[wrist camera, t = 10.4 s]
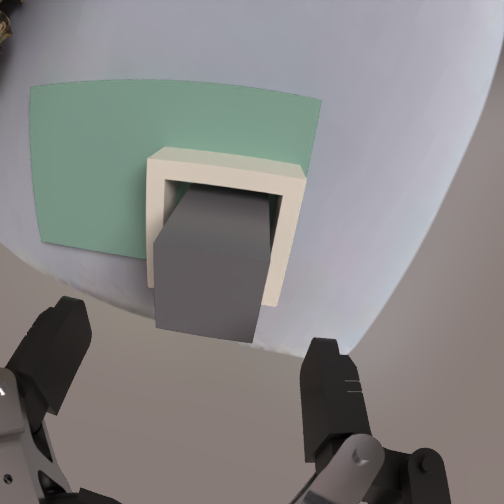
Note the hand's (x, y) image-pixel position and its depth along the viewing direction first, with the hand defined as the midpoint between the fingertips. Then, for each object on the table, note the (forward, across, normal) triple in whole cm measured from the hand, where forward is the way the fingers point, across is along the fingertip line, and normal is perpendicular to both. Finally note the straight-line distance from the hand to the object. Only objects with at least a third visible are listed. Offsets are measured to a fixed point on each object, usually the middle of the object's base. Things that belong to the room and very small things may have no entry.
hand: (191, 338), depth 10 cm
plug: (+11, 0, 0) cm, 11 cm away
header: (+11, 0, 0) cm, 11 cm away
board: (+12, +5, -2) cm, 13 cm away
